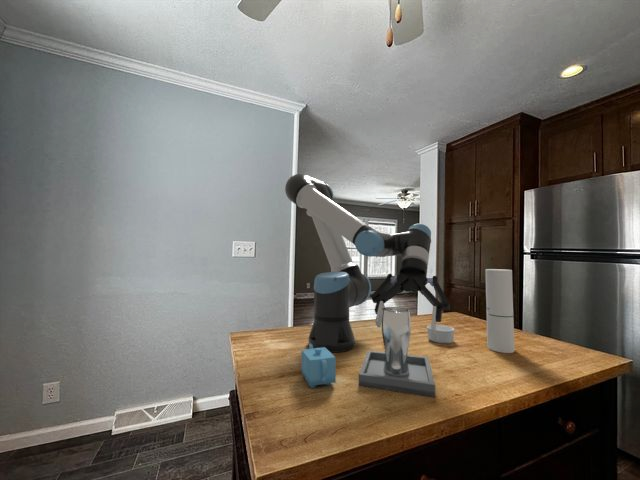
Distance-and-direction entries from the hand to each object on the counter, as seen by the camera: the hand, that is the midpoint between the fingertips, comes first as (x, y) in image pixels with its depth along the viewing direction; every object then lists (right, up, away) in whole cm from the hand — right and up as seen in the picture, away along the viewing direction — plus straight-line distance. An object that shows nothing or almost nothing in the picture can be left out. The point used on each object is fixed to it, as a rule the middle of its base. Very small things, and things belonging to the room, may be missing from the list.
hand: (404, 328), depth 68 cm
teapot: (-22, -11, -4) cm, 25 cm away
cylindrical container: (+36, -13, +18) cm, 42 cm away
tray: (-2, -11, -2) cm, 11 cm away
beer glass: (-2, -10, -2) cm, 11 cm away
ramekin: (+21, -13, +27) cm, 36 cm away
